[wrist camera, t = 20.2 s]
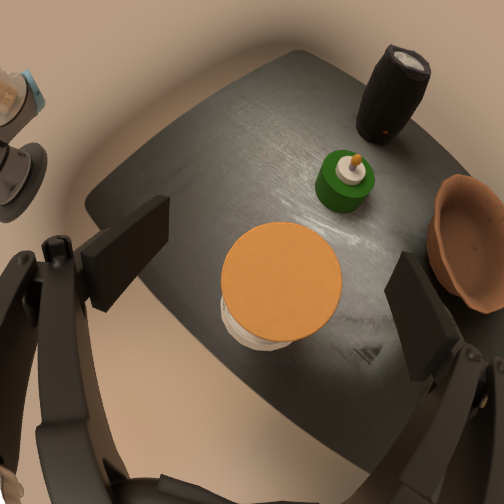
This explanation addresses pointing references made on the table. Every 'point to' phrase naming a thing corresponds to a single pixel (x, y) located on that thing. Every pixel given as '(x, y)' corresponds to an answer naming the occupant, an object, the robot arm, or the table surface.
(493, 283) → the bowl
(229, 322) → the supplement can
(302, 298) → the orange tall cylinder
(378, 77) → the portable speaker
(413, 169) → the table surface
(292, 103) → the table surface
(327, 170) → the candle
